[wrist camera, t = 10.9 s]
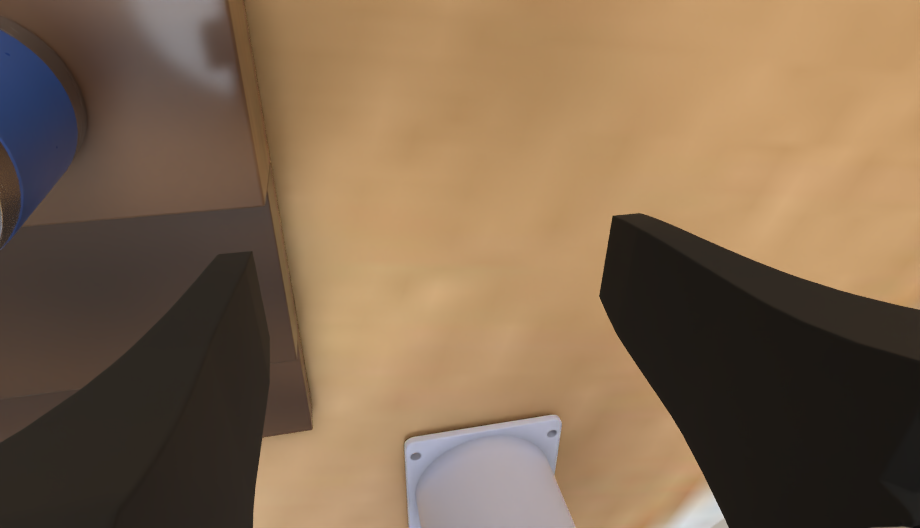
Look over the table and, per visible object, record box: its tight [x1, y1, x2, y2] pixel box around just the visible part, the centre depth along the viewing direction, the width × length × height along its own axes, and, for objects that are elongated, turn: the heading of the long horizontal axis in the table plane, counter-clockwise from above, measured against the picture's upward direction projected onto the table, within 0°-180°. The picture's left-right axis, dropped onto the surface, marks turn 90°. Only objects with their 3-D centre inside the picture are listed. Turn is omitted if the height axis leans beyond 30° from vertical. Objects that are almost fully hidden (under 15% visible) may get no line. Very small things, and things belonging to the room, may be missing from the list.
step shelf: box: [0, 0, 313, 443], centre depth 19 cm, size 19×12×4 cm, turn 179°
